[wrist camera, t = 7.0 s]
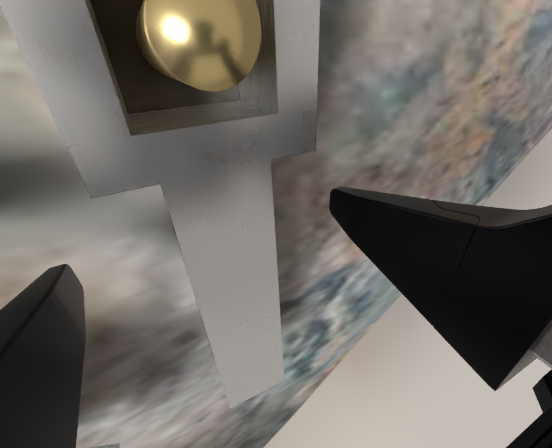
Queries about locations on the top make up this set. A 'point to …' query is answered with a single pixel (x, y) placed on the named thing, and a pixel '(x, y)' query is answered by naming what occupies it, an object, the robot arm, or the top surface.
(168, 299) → the top surface
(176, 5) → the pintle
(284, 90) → the link
